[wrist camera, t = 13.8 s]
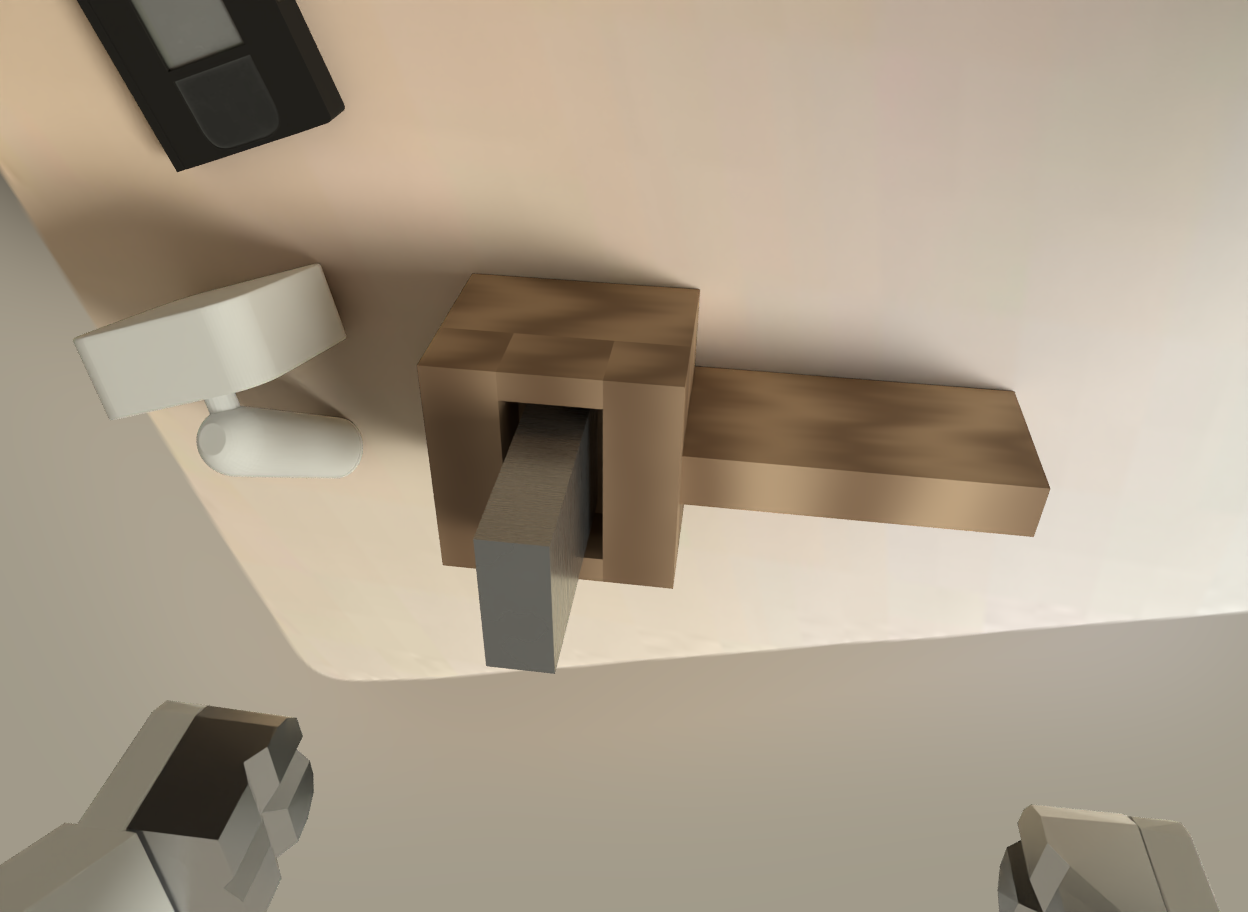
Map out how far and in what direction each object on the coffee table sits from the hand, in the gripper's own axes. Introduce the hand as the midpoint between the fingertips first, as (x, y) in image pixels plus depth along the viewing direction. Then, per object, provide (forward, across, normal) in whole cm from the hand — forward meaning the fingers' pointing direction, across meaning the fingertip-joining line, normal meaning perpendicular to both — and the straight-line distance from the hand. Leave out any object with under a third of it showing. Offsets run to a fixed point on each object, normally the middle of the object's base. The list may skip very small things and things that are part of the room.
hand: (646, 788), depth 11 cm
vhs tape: (+32, +22, -3) cm, 39 cm away
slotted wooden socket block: (+31, -1, +14) cm, 34 cm away
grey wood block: (+26, +6, +14) cm, 30 cm away
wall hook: (+32, +20, +14) cm, 40 cm away
